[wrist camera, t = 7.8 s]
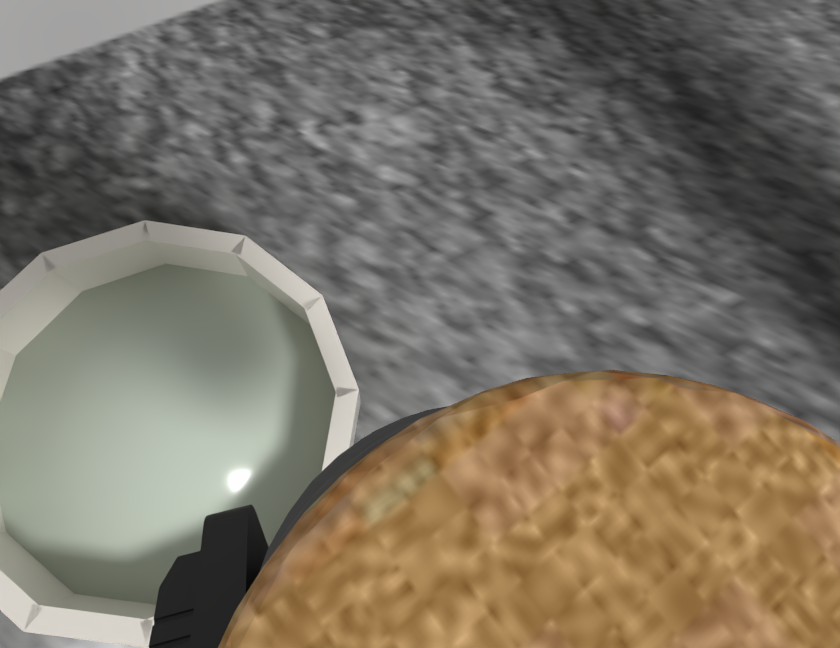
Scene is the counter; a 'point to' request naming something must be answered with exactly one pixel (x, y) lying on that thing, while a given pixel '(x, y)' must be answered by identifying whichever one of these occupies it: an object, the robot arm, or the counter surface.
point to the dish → (152, 415)
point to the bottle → (563, 527)
